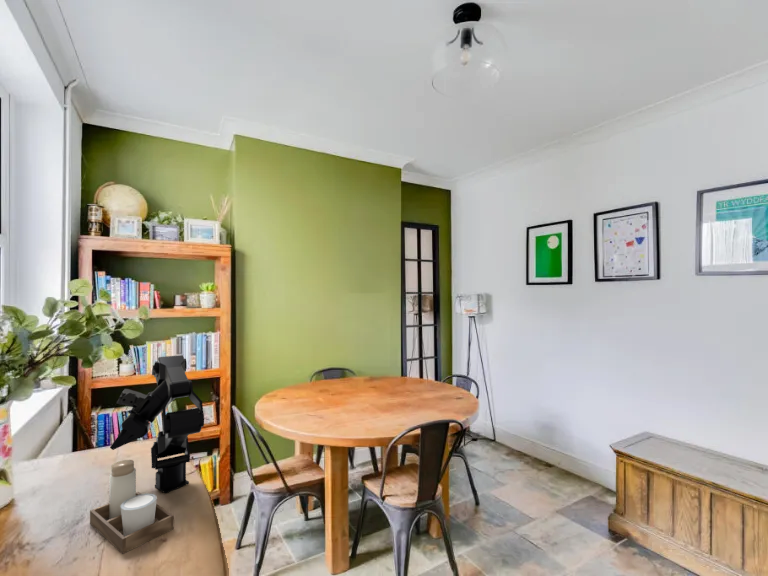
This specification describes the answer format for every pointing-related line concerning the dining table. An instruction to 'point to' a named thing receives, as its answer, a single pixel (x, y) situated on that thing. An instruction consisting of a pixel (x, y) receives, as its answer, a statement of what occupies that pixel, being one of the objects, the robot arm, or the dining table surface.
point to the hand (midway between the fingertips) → (115, 442)
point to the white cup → (138, 512)
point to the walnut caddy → (134, 539)
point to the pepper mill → (121, 485)
